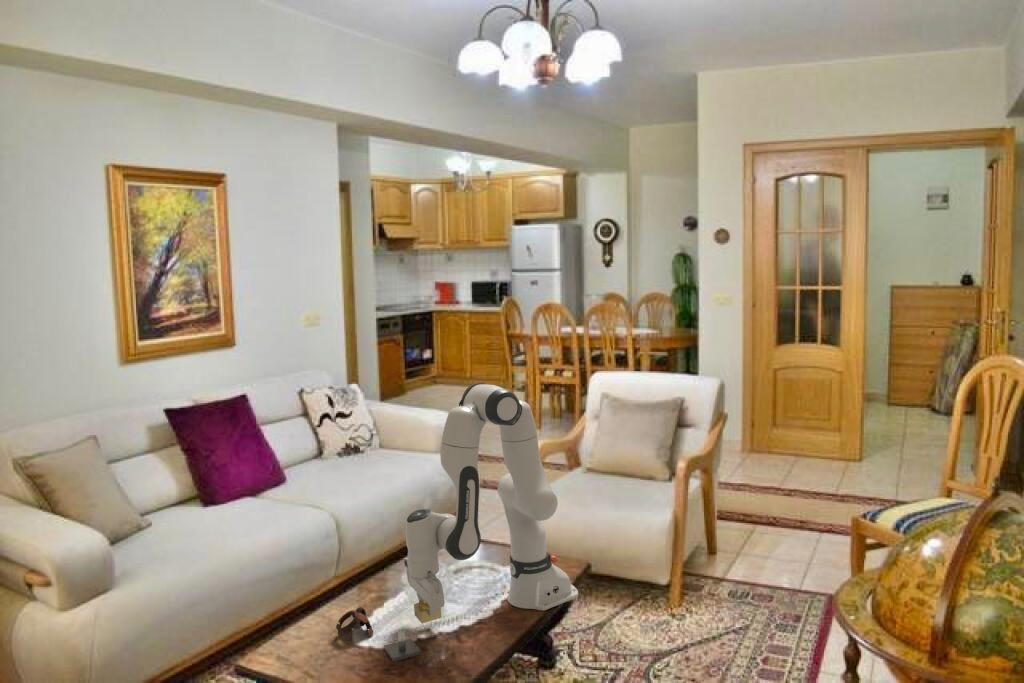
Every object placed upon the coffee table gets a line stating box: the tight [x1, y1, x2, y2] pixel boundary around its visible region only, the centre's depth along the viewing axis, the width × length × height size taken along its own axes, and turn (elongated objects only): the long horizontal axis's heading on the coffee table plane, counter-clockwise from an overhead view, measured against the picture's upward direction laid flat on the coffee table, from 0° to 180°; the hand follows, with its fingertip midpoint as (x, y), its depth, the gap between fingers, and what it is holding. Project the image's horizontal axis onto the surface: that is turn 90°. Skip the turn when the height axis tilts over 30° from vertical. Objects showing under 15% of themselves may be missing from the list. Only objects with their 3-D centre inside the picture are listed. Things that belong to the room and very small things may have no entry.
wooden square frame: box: [413, 601, 442, 624], centre depth 240 cm, size 6×6×4 cm
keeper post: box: [383, 628, 422, 663], centre depth 228 cm, size 8×8×6 cm
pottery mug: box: [335, 607, 374, 638], centre depth 239 cm, size 12×10×8 cm
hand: (427, 610), depth 240 cm, fingers closed on wooden square frame, 6 cm apart
